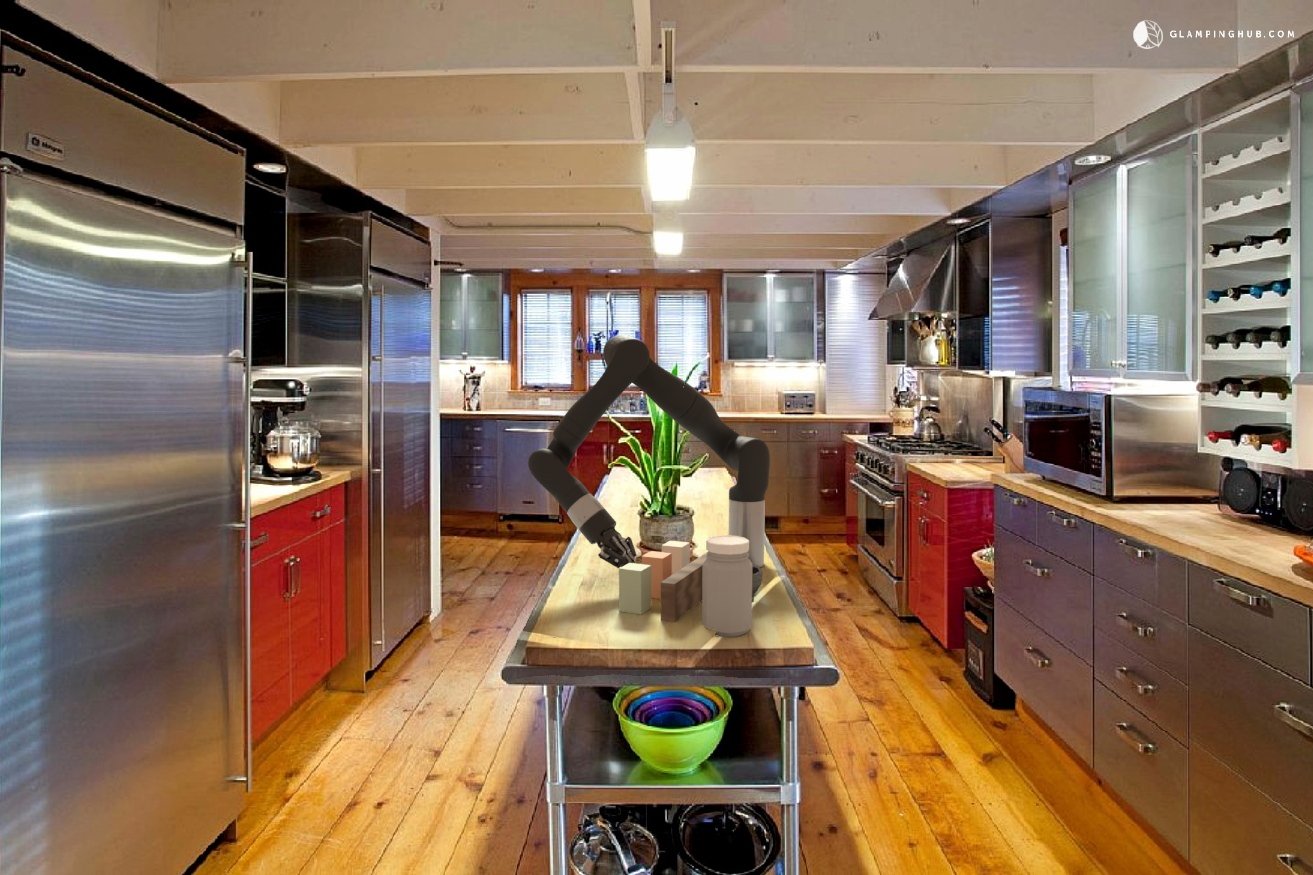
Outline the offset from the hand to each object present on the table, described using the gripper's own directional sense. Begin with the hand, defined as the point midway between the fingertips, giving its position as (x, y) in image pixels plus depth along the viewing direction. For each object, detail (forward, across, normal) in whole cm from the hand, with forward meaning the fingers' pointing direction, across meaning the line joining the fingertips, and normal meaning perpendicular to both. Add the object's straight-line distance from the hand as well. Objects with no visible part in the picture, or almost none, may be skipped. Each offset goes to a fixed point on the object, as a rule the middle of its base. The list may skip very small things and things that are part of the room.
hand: (640, 577), depth 171 cm
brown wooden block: (+7, 0, -1) cm, 7 cm away
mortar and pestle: (+18, +7, -11) cm, 23 cm away
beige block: (+5, +11, 0) cm, 12 cm away
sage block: (+5, -11, 0) cm, 12 cm away
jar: (+21, -11, -14) cm, 27 cm away
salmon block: (+5, 0, 0) cm, 5 cm away
